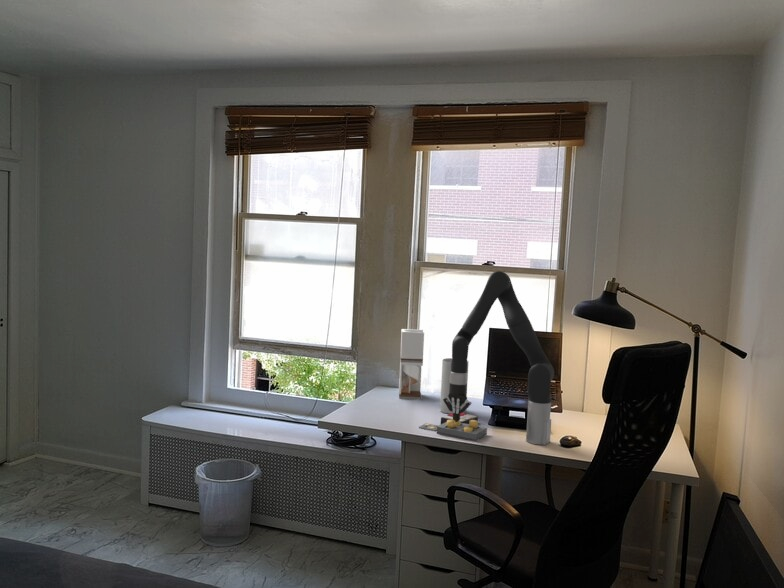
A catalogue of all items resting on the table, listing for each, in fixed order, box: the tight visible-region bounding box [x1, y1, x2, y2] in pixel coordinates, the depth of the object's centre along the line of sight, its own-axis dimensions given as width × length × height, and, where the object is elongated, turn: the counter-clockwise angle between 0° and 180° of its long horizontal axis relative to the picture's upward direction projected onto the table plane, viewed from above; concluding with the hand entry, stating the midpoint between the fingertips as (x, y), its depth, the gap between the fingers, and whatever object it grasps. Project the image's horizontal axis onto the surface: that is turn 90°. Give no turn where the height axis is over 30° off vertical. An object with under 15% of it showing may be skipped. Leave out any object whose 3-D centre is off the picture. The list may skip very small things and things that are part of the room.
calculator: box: [440, 413, 479, 425], centre depth 294 cm, size 11×4×15 cm
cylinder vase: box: [439, 357, 469, 415], centre depth 314 cm, size 12×12×25 cm
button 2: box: [464, 427, 473, 432], centre depth 274 cm, size 4×4×3 cm
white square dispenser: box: [398, 328, 425, 401], centre depth 341 cm, size 11×11×35 cm
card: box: [418, 422, 439, 432], centre depth 286 cm, size 8×7×1 cm
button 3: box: [469, 420, 479, 429], centre depth 278 cm, size 4×4×3 cm
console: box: [436, 422, 488, 442], centre depth 278 cm, size 18×12×3 cm, turn 60°
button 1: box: [447, 420, 455, 429], centre depth 278 cm, size 4×4×3 cm
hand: (456, 421), depth 283 cm, fingers closed
